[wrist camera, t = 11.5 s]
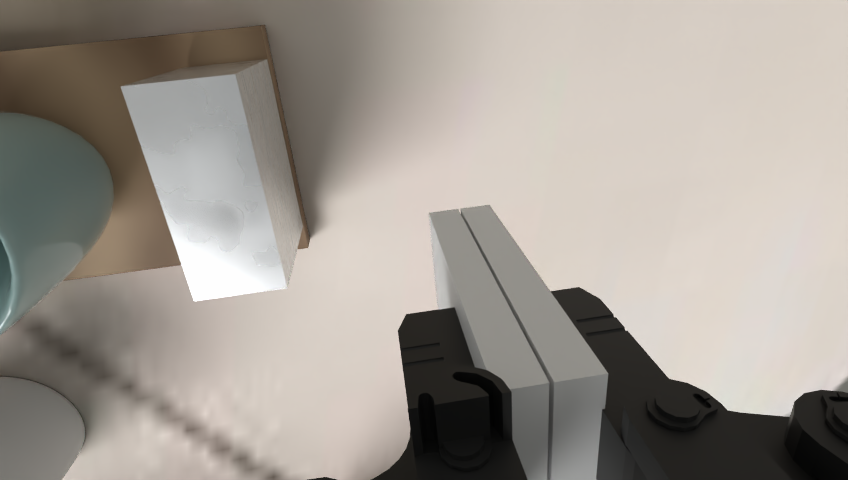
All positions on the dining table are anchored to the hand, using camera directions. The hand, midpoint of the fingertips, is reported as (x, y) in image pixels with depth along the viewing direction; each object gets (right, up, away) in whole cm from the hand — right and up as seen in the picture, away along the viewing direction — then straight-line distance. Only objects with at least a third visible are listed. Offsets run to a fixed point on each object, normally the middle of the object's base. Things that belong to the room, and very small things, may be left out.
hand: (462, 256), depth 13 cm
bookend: (-10, +5, +13) cm, 17 cm away
